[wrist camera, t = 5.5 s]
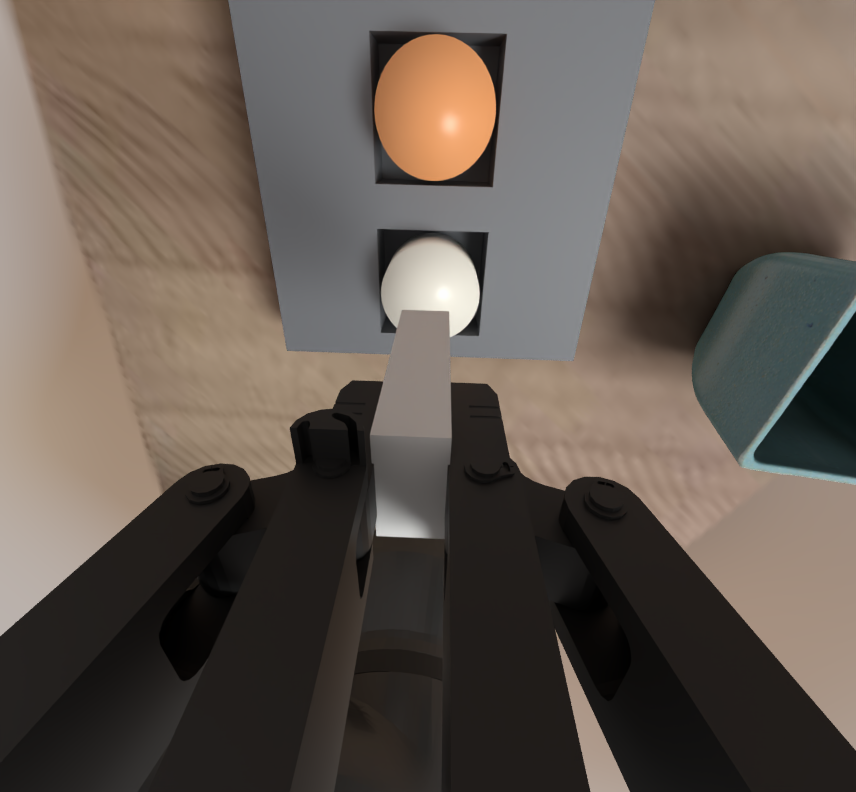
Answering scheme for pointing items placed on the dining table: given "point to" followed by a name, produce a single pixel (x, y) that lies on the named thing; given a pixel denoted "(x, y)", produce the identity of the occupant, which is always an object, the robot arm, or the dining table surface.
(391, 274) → the cream button
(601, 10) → the button panel
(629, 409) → the dining table surface
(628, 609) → the robot arm
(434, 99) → the orange button
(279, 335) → the dining table surface
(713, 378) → the flower pot
